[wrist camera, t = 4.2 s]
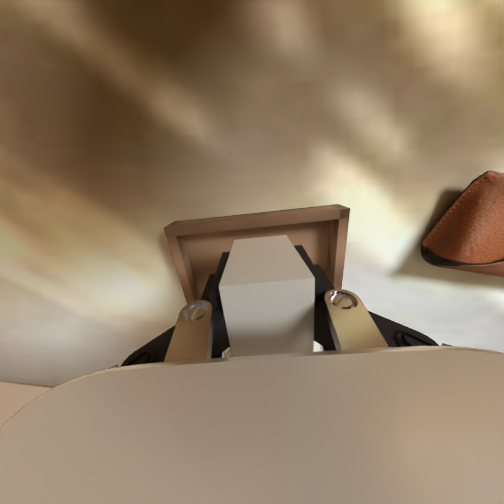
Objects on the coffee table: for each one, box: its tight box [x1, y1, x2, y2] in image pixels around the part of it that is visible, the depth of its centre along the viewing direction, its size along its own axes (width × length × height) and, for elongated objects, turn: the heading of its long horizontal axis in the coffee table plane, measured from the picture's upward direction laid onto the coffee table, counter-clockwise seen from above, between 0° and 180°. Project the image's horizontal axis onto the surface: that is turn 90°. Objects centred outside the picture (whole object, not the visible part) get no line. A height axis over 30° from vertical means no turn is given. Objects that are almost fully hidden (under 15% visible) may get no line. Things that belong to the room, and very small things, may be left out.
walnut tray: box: [164, 204, 350, 304], centre depth 19 cm, size 13×16×2 cm
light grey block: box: [219, 235, 315, 357], centre depth 10 cm, size 4×4×6 cm
